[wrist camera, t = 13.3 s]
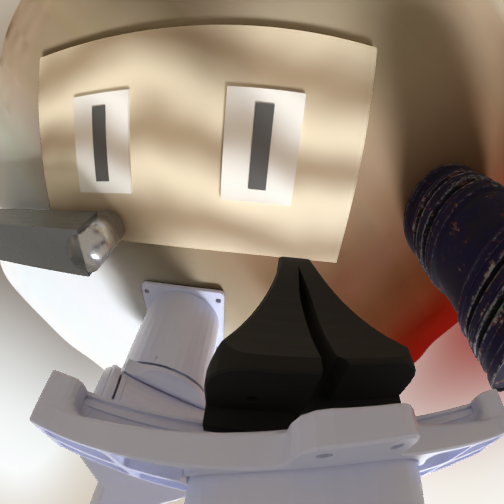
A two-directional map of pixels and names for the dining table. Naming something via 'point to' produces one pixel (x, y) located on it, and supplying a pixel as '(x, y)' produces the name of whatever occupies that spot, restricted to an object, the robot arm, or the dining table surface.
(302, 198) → the label board
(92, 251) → the grey square pillar
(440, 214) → the storage jar
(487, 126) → the dining table surface
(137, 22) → the dining table surface
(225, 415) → the robot arm
